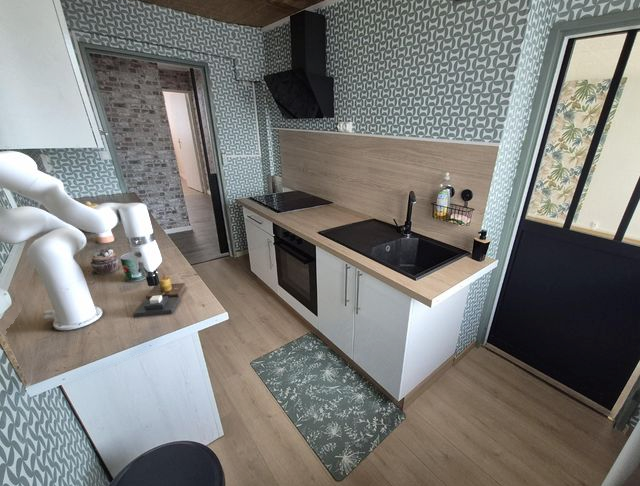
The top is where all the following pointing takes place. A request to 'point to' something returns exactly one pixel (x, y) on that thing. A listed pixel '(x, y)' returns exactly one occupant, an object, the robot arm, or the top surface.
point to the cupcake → (104, 261)
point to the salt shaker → (105, 237)
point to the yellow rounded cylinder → (165, 284)
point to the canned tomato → (130, 268)
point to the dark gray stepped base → (157, 307)
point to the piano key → (155, 299)
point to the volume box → (174, 292)
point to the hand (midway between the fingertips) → (154, 284)
